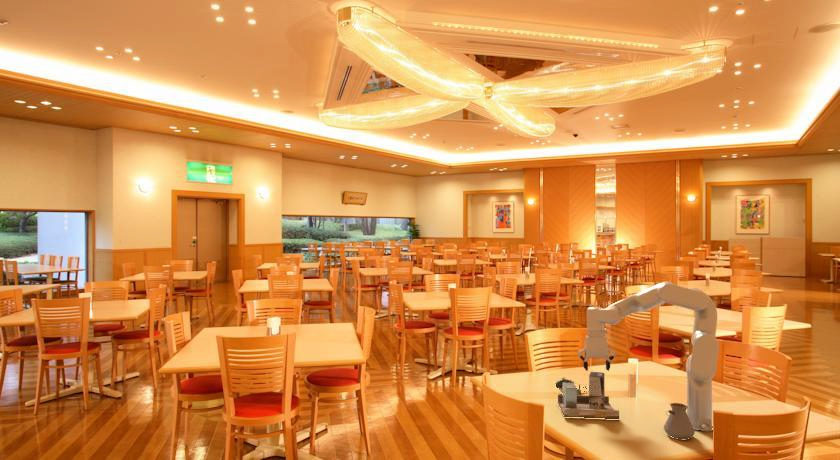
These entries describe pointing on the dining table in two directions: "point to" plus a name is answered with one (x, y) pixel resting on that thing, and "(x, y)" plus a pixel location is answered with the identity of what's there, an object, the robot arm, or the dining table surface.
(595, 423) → the dining table surface
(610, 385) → the dining table surface
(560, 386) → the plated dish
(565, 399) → the tea tin
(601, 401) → the coffee box
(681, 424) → the coffee pot
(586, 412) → the flat grey tray
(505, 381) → the dining table surface
